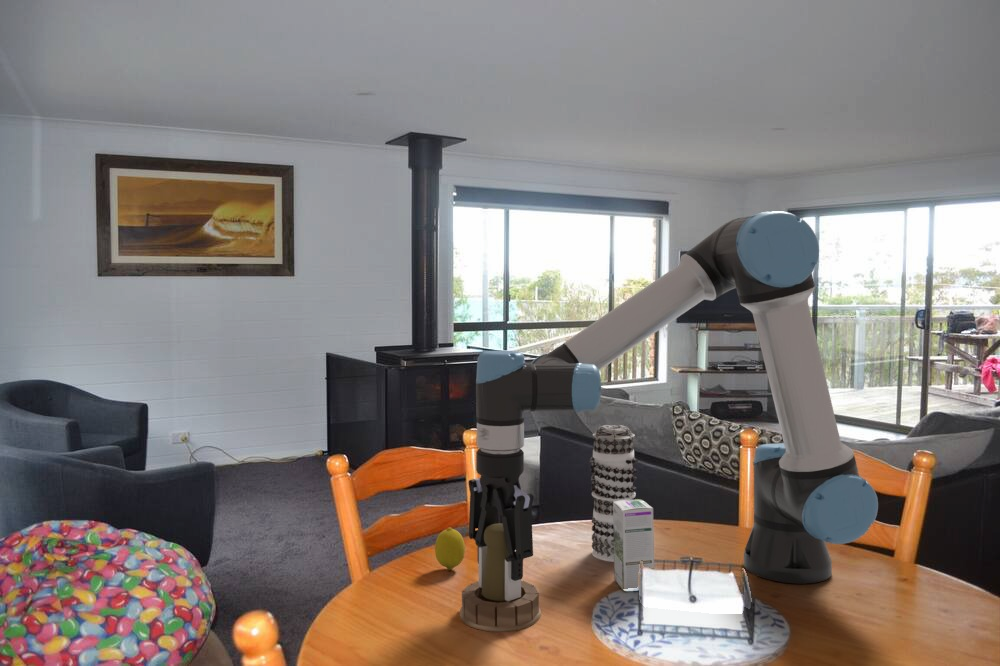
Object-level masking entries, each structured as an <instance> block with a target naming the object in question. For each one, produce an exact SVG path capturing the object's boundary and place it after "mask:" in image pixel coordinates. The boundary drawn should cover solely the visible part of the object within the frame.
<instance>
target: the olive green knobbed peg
mask: <svg viewBox="0 0 1000 666" xmlns="http://www.w3.org/2000/svg"><path fill="white" fill-rule="evenodd" d="M484 541H485V543H486V545H487V554H486V562H485V569H484V577H483V585H482V593H481V594H482V595H483V596H484V597H485V598H487V599H490V600H499V601H503V600H505V558H507V557H509V556H508V551H507V545H506V540H505V535H504V529H503V524H502V523H500V522H499V523H495V524H492V525H489V526H488V527H487V528H486V529H485V532H484Z"/></svg>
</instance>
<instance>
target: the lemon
mask: <svg viewBox="0 0 1000 666" xmlns="http://www.w3.org/2000/svg"><path fill="white" fill-rule="evenodd" d="M434 544H435V545H434V553H435V554H434V555H435V557H436V560H437V562H438V563H439V564H440V565H441V567H444V568H446V569H448V571H452V570H453V569H454V568H455V567H457V566H459V565H460V564H461V563H462V562H463V560H464V558H465V553H466V546H465V541H464V537H463V536H462V534H461V533H460V532H459V531H458V530H456V529H454V528H452V527H447V528H446V529H443V530H442V531H441V532H440V533H439V534H438V535H437V537H436V540H435V543H434Z"/></svg>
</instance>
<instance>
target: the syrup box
mask: <svg viewBox="0 0 1000 666" xmlns="http://www.w3.org/2000/svg"><path fill="white" fill-rule="evenodd" d="M613 532H614V562H613V576H614V578H613V579H614V582H615V583H616V584H617V585H618V587H619V588H621V590H622V589H628V588H637V587H638V572H639V564H640V561H641V560H643V566H644V567H649V568H654V569H655V536H654V534H655V533H654V507H652V506H651V505H649V504H648V503H647V502H646V501H644V500H643V499H641V498H640V499H639V498H637V499H636V498H635V499H634V498H633V499H628V500H620V501H613Z"/></svg>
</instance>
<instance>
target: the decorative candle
mask: <svg viewBox="0 0 1000 666" xmlns="http://www.w3.org/2000/svg"><path fill="white" fill-rule="evenodd" d="M592 436H593V450H592V456H591V457H590V459H589V463H590V466H589V469H590V470H589V471H590V473H591V474H592V476H590V483H591V485H590V489H591V491H592V492H591V496H592V497H593V499H594V500H593V506H594V507H593V510H592V511H593V512H592V518H591V523H592V526H591V530H592V532H593V533H592V535H591V540H592V544H591V548H592V549H593V550H592V552H591V554H592V556H593V557H594V558H596V559H597V560H599V561H604V562H609V563H610V562H611V563H614V532H613V501H620V500H628V499H634V498H635V499H636V496H637V495H636V494H637V493H636V491H637V487H635V486H634V485H633V484H634V482H636V481H638V478H637V477H636V476H635V474H636V473H638V469H636V467H634V465H635V464H636V463H638V462H639V460H638V459H637V458H636V457H635V450H634V437H635V436H636V434H634V433H632V431H631V430H630V428H629V427H628V426H625V425H621V424H619V425H618V424H605V425H601V426H599V427H598V429H597V430H596V431H595V432H593V433H592Z"/></svg>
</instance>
